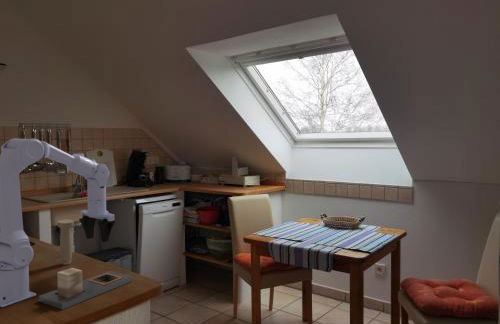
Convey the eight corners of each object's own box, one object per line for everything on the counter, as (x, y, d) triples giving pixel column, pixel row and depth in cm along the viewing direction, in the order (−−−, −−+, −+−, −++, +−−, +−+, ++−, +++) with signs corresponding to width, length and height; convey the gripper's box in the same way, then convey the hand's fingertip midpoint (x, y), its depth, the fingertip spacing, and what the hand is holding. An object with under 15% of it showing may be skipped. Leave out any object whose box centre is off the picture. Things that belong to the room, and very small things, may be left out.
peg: (68, 302, 109) (67, 275, 108) (57, 298, 111) (57, 272, 110) (82, 296, 113) (82, 270, 112) (72, 293, 115) (71, 267, 114)
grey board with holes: (62, 309, 104) (62, 303, 104) (38, 301, 109) (38, 295, 109) (132, 281, 125) (132, 275, 125) (110, 275, 130) (109, 270, 130)
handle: (71, 260, 145) (70, 218, 144) (76, 264, 140) (75, 222, 139) (56, 262, 142) (55, 220, 141) (61, 267, 137) (60, 223, 136)
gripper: (121, 199, 133) (122, 240, 134) (92, 196, 141) (93, 234, 142) (104, 202, 127) (104, 245, 128) (74, 198, 135) (75, 238, 136)
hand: (97, 239), depth 134 cm, fingers open, 7 cm apart
